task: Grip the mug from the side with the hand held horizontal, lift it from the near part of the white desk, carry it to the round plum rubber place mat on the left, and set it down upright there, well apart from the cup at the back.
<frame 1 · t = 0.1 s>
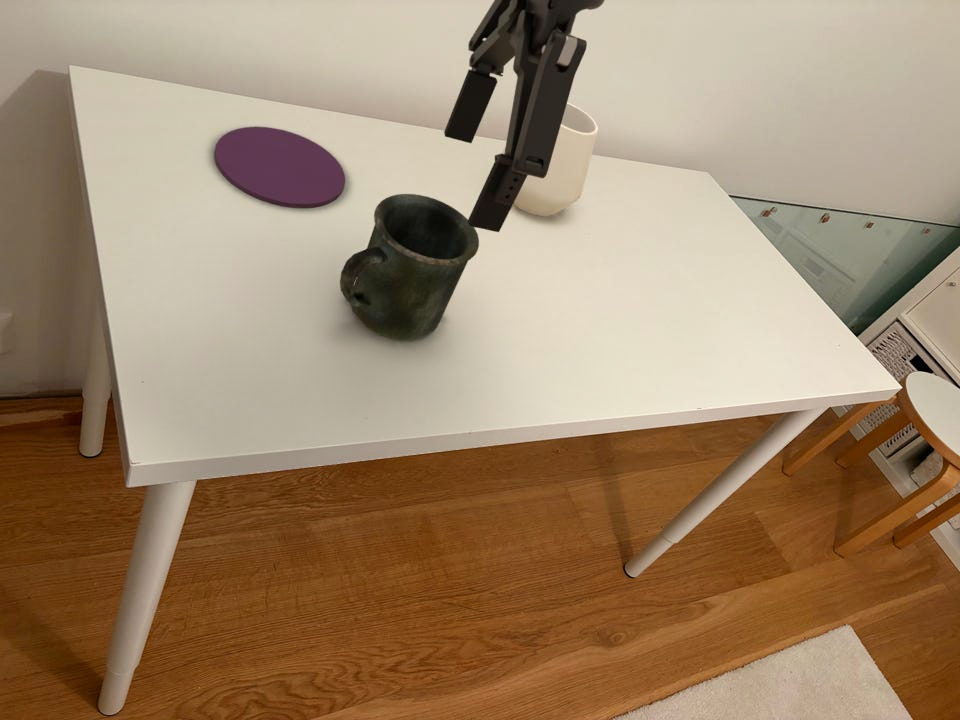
hand: (469, 179, 65), 21 cm above the table, tool pointing down, fingers open, 13 cm apart
place mat: (281, 167, 91), on the table
mug: (382, 315, 80), on the table
cup: (529, 198, 110), on the table
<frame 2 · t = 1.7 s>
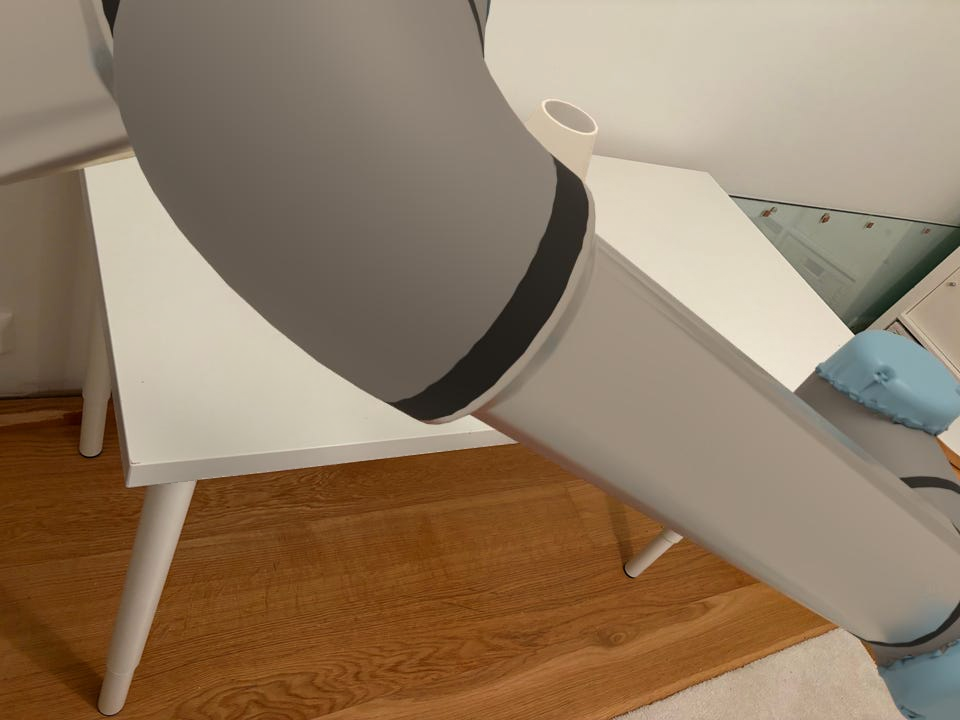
hand: (493, 238, 65), 18 cm above the table, tool horizontal, fingers open, 13 cm apart
nothing on the table moved.
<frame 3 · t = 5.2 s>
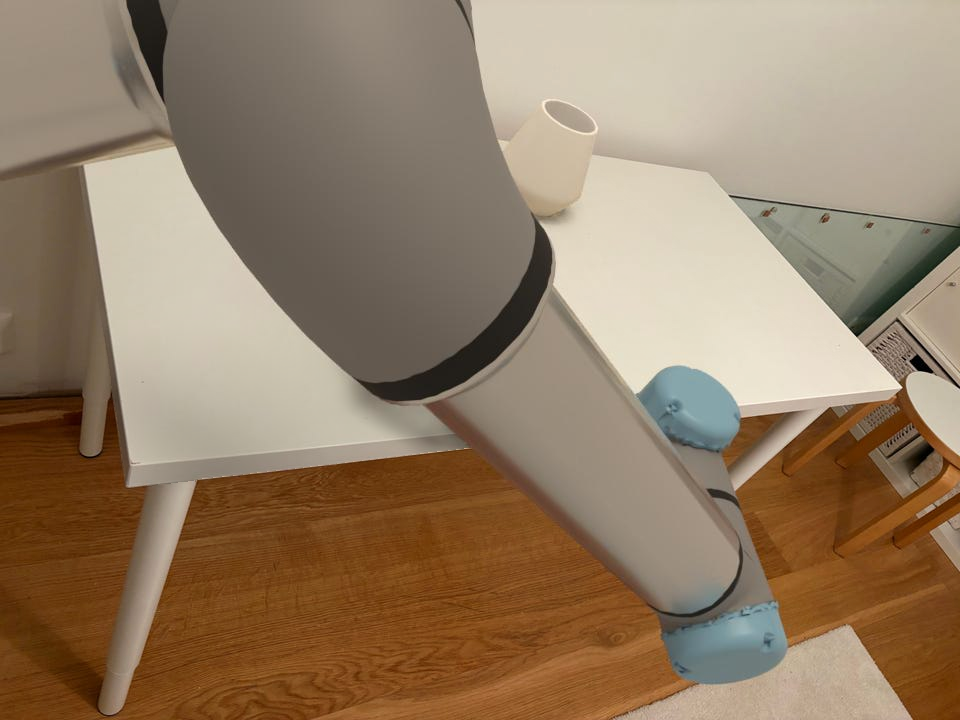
hand: (401, 276, 75), 6 cm above the table, tool horizontal
mug: (377, 309, 80), on the table, touching gripper
everything else where it was.
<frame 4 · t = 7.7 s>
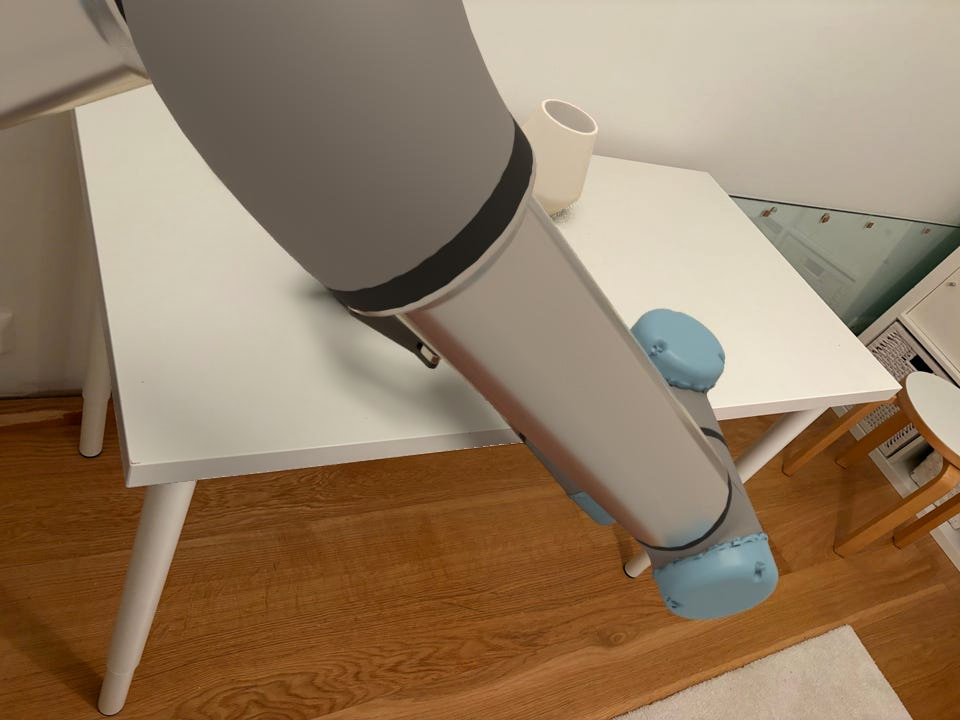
hand: (386, 232, 75), 9 cm above the table, tool horizontal, fingers closed on mug, 12 cm apart
mug: (360, 291, 81), on the table, touching gripper
everything else where it was.
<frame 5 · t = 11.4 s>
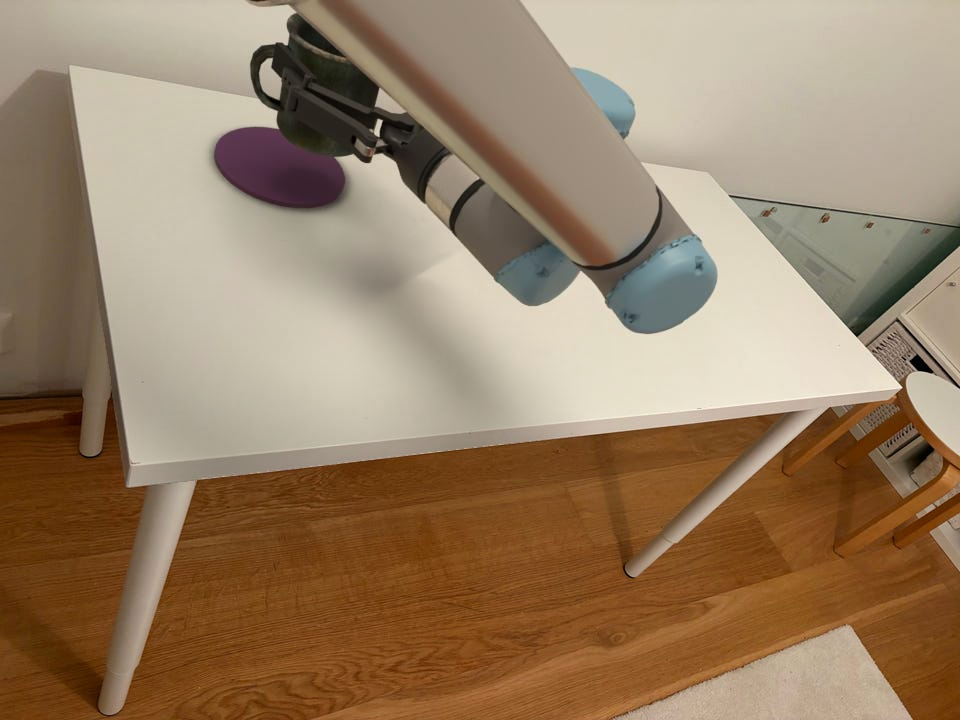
hand: (330, 55, 77), 18 cm above the table, tool horizontal, fingers closed on mug, 12 cm apart
mug: (307, 135, 84), point 8 cm above the table, touching gripper
everything else where it was.
when the fingers open (8 cm above the table, at t = 15.8 s): mug stays where it is, resting on place mat.
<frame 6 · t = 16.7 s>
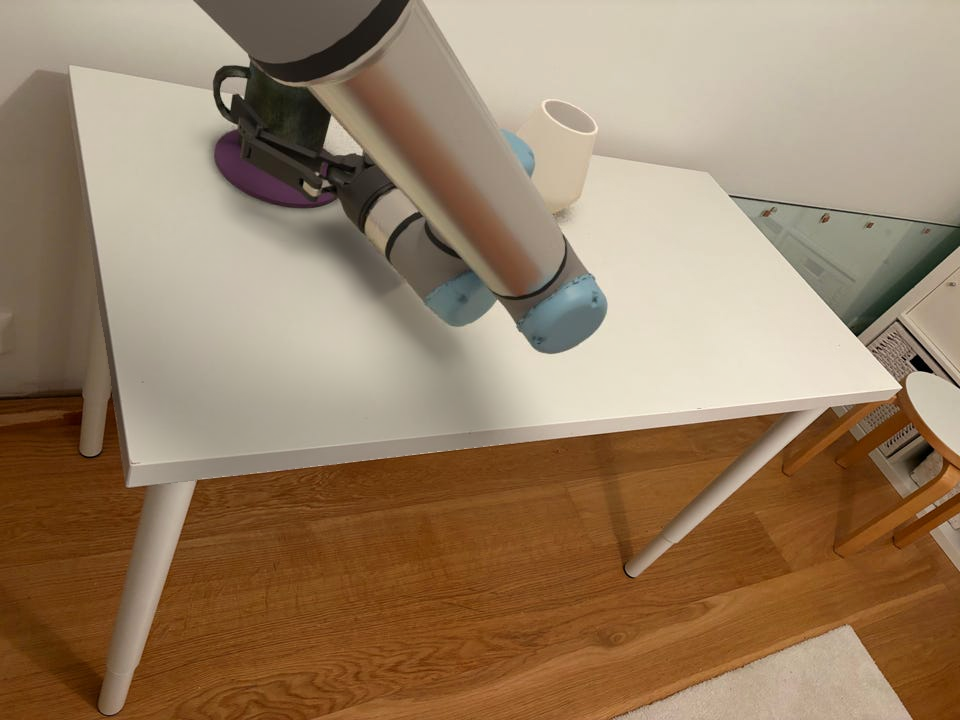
hand: (285, 101, 86), 8 cm above the table, tool horizontal, fingers open, 13 cm apart
mug: (266, 148, 92), resting on place mat, touching gripper
everything else where it was.
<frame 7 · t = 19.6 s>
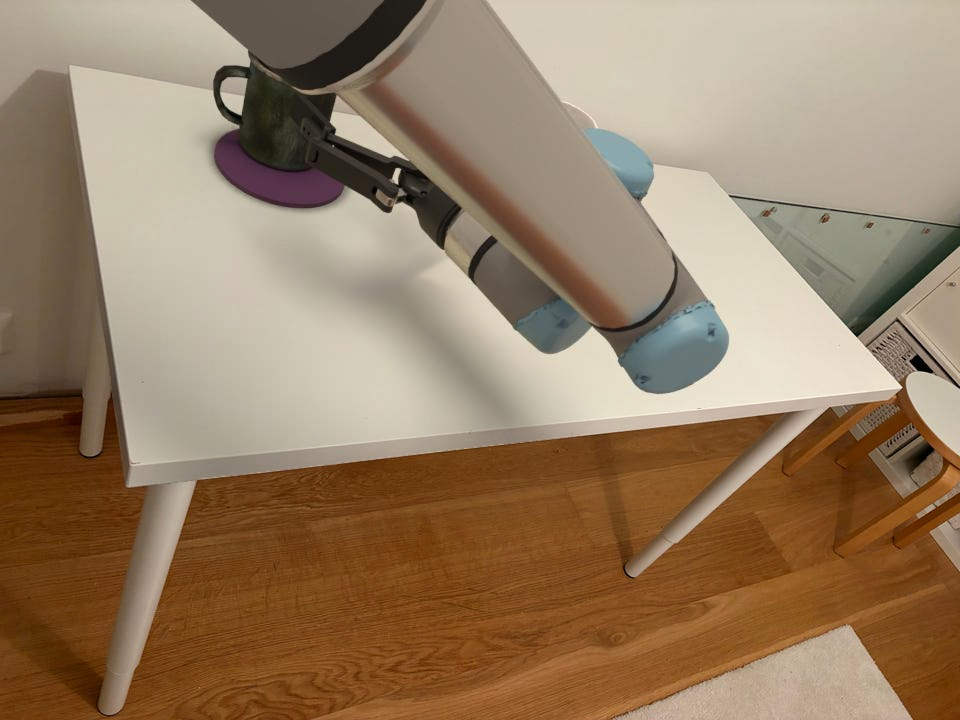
hand: (348, 101, 78), 15 cm above the table, tool horizontal, fingers open, 13 cm apart
mug: (266, 148, 92), resting on place mat
everything else where it was.
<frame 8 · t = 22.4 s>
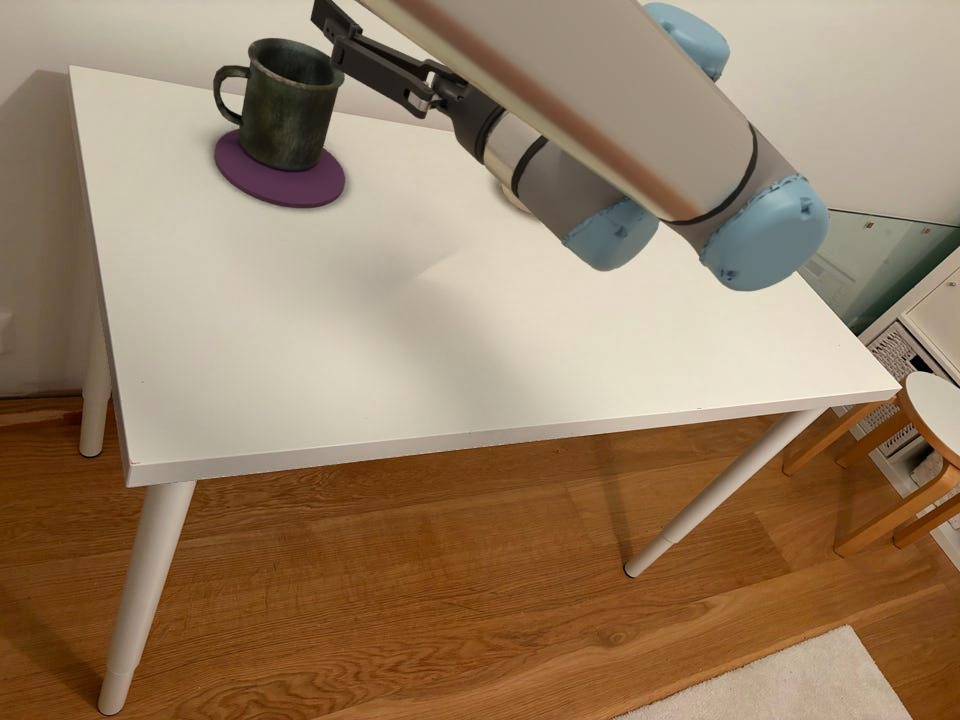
hand: (374, 9, 72), 25 cm above the table, tool horizontal, fingers open, 13 cm apart
nothing on the table moved.
at the end: mug inside the target area on the place mat (3.4 cm from its centre), point 0.4 cm above the place mat's base; mug tilted 0°; mug touching place mat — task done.
